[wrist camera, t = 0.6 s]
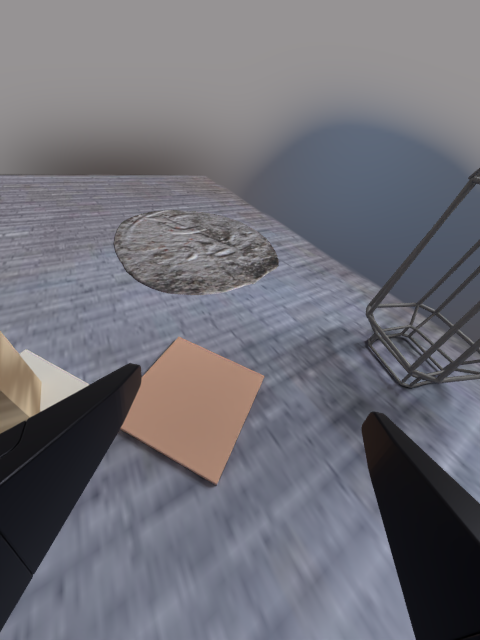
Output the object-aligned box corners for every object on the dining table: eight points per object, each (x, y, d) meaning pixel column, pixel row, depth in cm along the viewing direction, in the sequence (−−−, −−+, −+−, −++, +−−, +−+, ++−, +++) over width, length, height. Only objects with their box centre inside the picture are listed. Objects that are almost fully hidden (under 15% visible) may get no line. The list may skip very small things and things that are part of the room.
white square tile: (-4, 515, 17) (-20, 510, 16) (-89, 448, 19) (-111, 439, 18) (106, 401, 24) (101, 391, 23) (34, 360, 26) (26, 349, 25)
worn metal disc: (202, 203, 68) (202, 202, 68) (304, 256, 54) (304, 255, 53) (76, 227, 49) (75, 225, 48) (183, 323, 34) (183, 321, 34)
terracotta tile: (216, 485, 20) (217, 483, 20) (106, 420, 23) (104, 418, 22) (263, 378, 29) (264, 376, 28) (178, 339, 31) (178, 336, 31)
